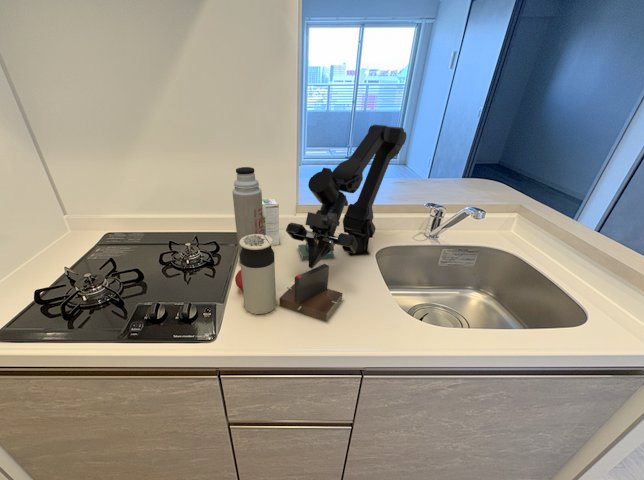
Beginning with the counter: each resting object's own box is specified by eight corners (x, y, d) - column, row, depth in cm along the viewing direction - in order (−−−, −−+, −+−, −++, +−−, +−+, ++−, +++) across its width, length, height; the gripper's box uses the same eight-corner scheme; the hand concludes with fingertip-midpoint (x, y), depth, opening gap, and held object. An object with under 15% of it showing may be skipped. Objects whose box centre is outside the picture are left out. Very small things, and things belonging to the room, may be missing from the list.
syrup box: (259, 240, 115) (257, 199, 106) (275, 238, 116) (274, 197, 108) (263, 247, 110) (261, 205, 102) (280, 244, 112) (279, 203, 103)
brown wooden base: (347, 297, 85) (348, 289, 84) (324, 327, 75) (325, 318, 74) (299, 283, 91) (299, 275, 90) (273, 309, 81) (272, 301, 80)
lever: (323, 286, 85) (324, 262, 81) (327, 289, 84) (329, 265, 80) (294, 301, 80) (294, 276, 75) (298, 304, 79) (299, 278, 74)
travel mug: (246, 316, 79) (239, 250, 68) (243, 298, 85) (237, 234, 75) (278, 312, 80) (276, 246, 70) (273, 295, 86) (270, 232, 76)
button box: (327, 247, 110) (328, 238, 108) (333, 258, 103) (334, 248, 101) (298, 249, 109) (298, 239, 107) (302, 260, 102) (302, 250, 100)
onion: (245, 283, 91) (243, 258, 87) (262, 289, 89) (260, 263, 84) (232, 293, 87) (229, 267, 82) (249, 299, 85) (247, 273, 80)
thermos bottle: (270, 260, 102) (266, 167, 86) (253, 270, 97) (245, 173, 81) (251, 253, 106) (244, 163, 90) (234, 263, 101) (223, 169, 85)
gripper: (288, 192, 82) (267, 248, 80) (359, 203, 74) (336, 266, 73) (302, 212, 92) (283, 263, 90) (366, 224, 84) (346, 280, 83)
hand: (310, 267), depth 84 cm, fingers closed
